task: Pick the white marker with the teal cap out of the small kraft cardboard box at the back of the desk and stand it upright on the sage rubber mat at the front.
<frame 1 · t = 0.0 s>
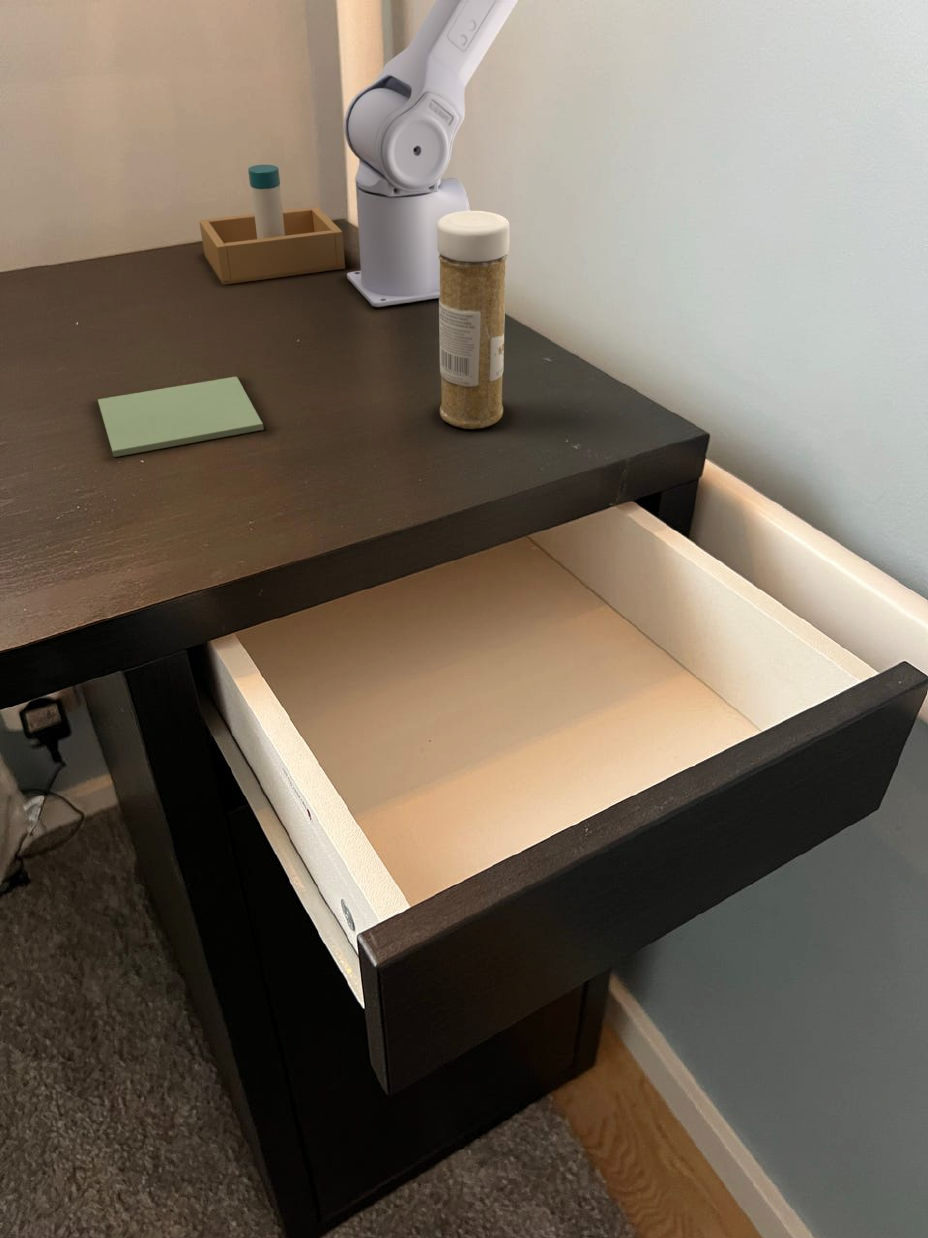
marker: (273, 257, 92), resting on marker box
marker box: (274, 262, 92), on the table
mat: (179, 417, 67), on the table
sprinkles bottle: (470, 418, 68), on the table
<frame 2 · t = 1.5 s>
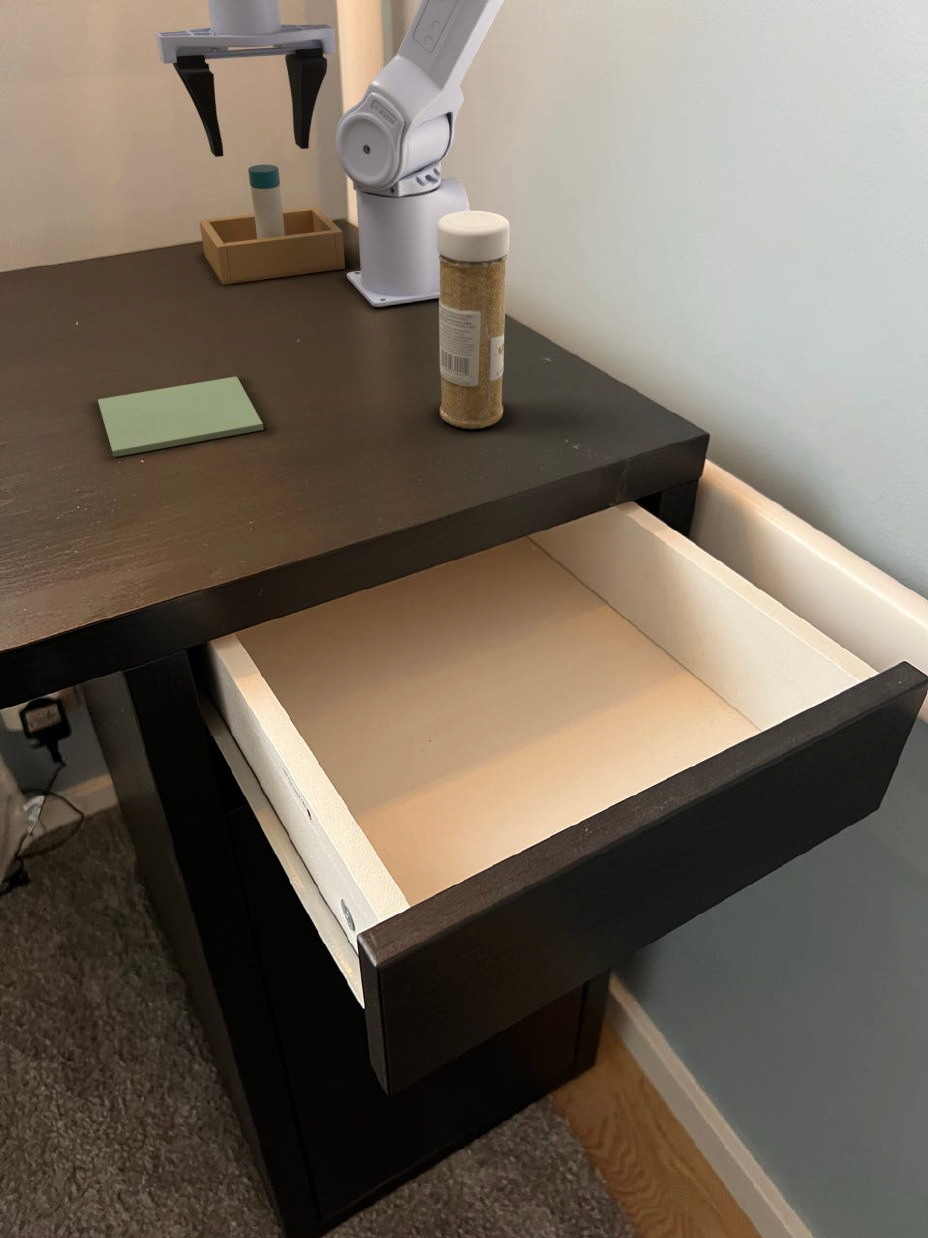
hand: (260, 149, 86), 10 cm above the table, tool pointing down, fingers open, 7 cm apart
nothing on the table moved.
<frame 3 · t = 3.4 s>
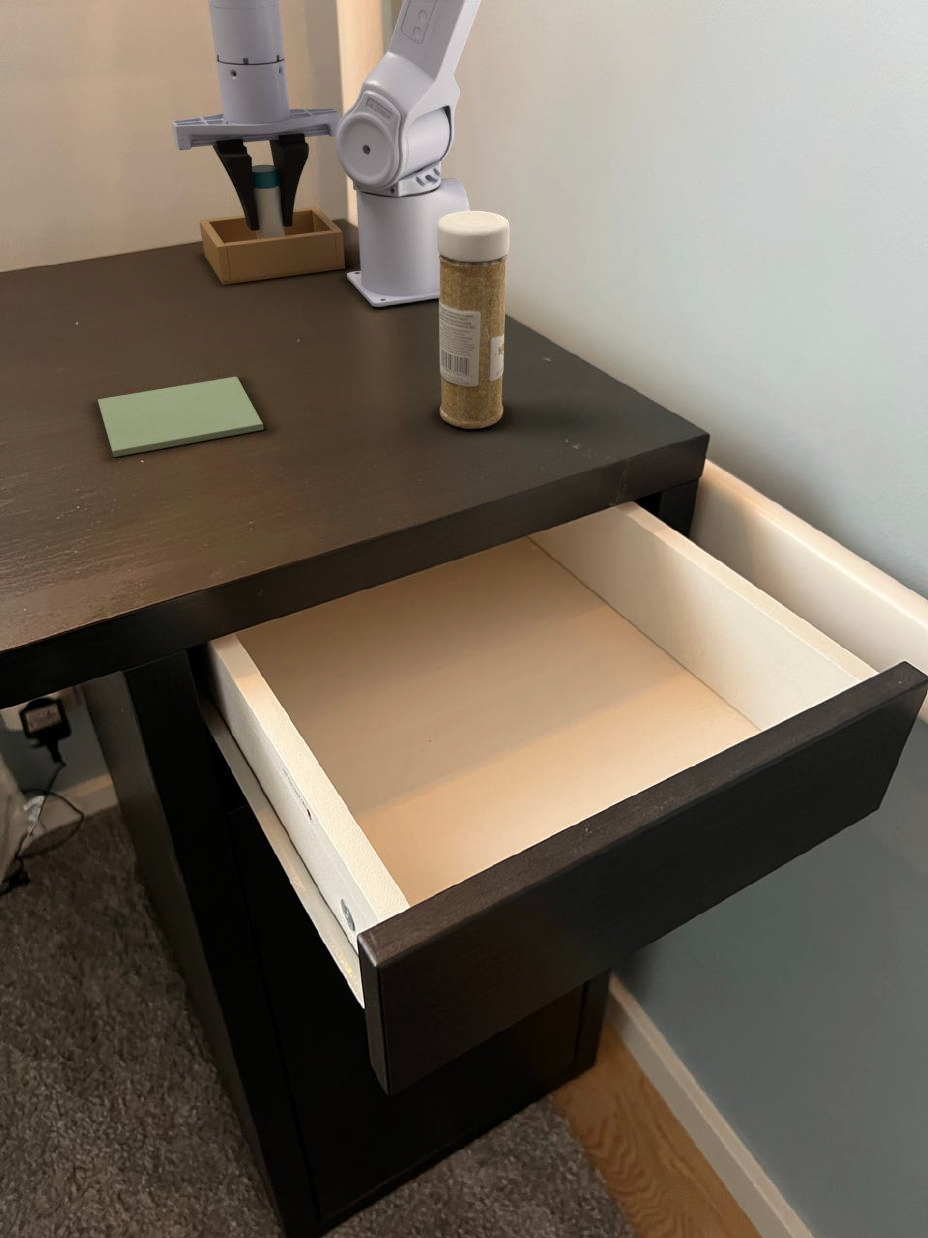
hand: (269, 225, 90), 3 cm above the table, tool pointing down, fingers closed on marker, 2 cm apart
marker: (273, 257, 92), resting on marker box, touching gripper
everything else where it was.
when the fingers open (3 cm above the table, at t = 8.8 s): marker stays where it is, resting on mat.
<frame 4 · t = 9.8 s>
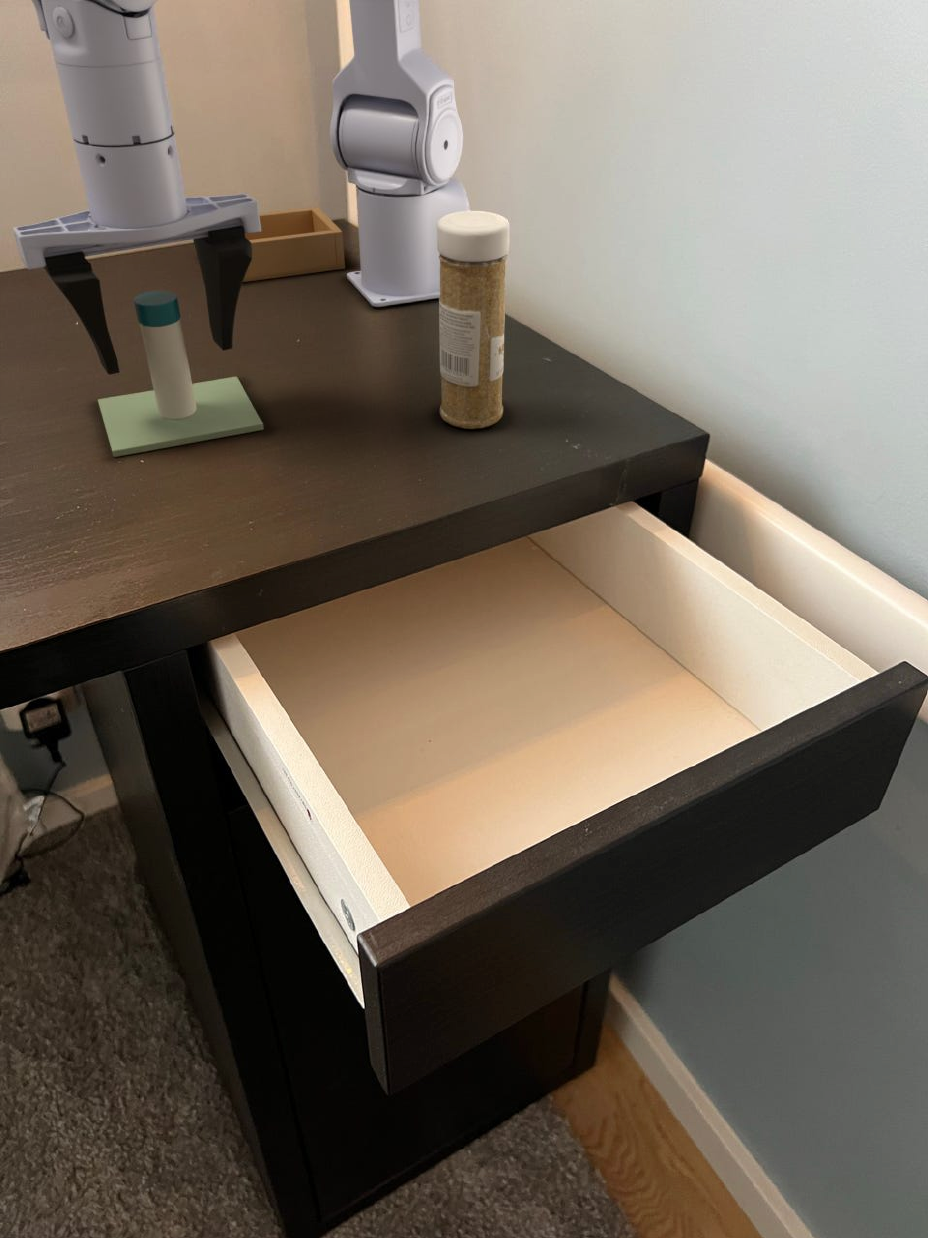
hand: (167, 356, 64), 5 cm above the table, tool pointing down, fingers open, 7 cm apart
marker: (177, 410, 67), resting on mat
everything else where it was.
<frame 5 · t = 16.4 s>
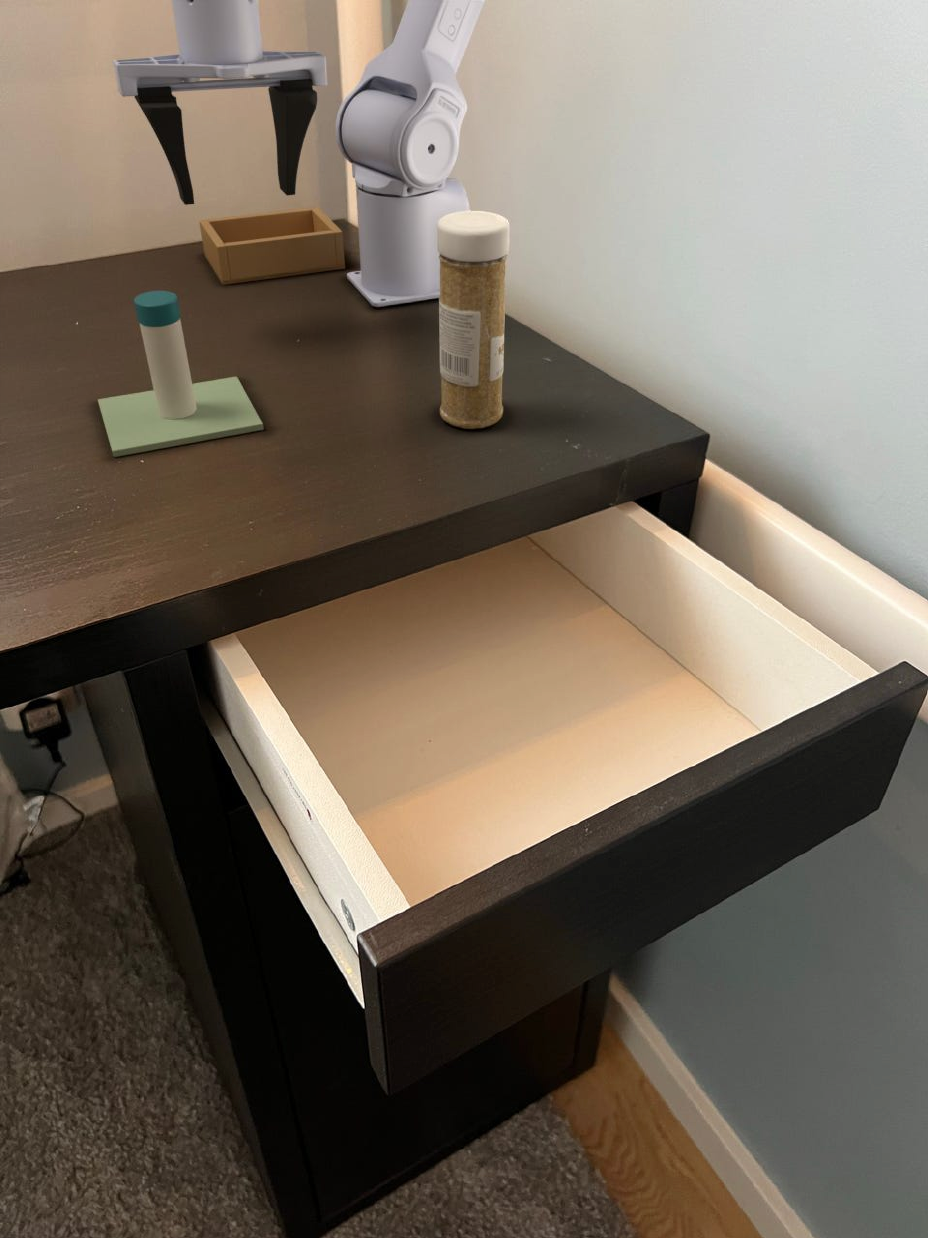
hand: (238, 196, 73), 10 cm above the table, tool pointing down, fingers open, 7 cm apart
nothing on the table moved.
at the end: marker 0.1 cm off-centre on the mat, point 0.5 cm above the mat's base; marker tilted 0°; the gripper is holding nothing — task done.
